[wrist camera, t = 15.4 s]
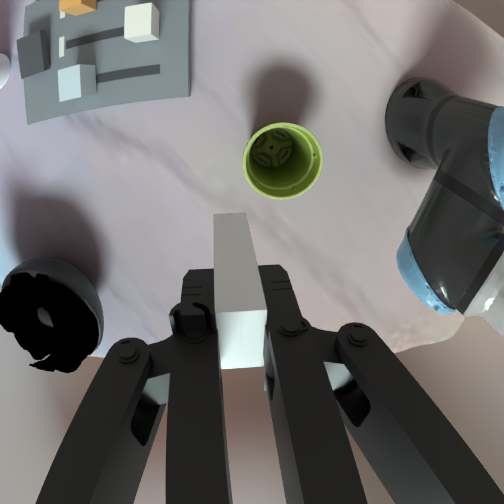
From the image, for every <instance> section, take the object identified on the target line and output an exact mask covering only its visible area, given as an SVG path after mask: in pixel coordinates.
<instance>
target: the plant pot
mask: <svg viewBox="0 0 504 504" xmlns="http://www.w3.org/2000/svg"><path fill="white" fill-rule="evenodd" d="M275 131H280V132H281V133H283V135H284V136H281V135H280V134H278V133H276V132H275ZM258 136H260V137H259V138H258V140H257V142H256V144H254V141H255V139H256V138H257V137H258ZM270 146H273V149H270ZM286 151H288V153H287V155H286V157H285V158H284V159H282V157H283V155H284V154H285V152H286ZM259 158H261V159H262V160H264V161H266V162H267V163H263V162H261V161H259ZM322 164H323V156H322V150H321V147H320V144H319V142H318V140H317V139H316V138H315V136H314V135H313V134H312V133H311V132H310V131H308V130H307V129H305V128H304V127H302V126H299V125H297V124H293V123H287V122H280V123H274V124H270V125H267V126H265V127H263V128H262V129H260V130H258V131H257V132H256V133H255V134H254V135H253V136H252V137H251V139H250V140H249V142H248V143H247V145H246V148H245V151H244V154H243V170H244V174H245V177H246V179H247V181H248V182H249V184H250V185H251V186H252V187H253V188H254V189H255V190H256V191H257V192H258V193H260V194H262V195H264V196H266V197H269V198H272V199H290V198H294V197H297V196H299V195H301V194H303V193H304V192H306V191H307V190H308V189H310V188H311V187H312V186H313V184H314V183H315V181H316V180H317V179H318V177H319V175H320V172H321V169H322Z"/></svg>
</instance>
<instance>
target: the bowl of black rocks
mask: <svg viewBox="0 0 504 504" xmlns="http://www.w3.org/2000/svg"><path fill="white" fill-rule="evenodd" d="M0 324H1V325H2V326H3V328H4V329H5V330H6V331H7V332H13V333H14V334H15V335H14V336H15V338H16V340H17V342H18V343H19V345H20V346H21V347H22V348H23V349H24V350H28V352H30V354H31V356H32V357H33V359H35V360H42V359H43V358H44V357H45V356H47V355H48V354H51V355H50V356H48V358H46V359H45V360H42V361H38V362H36V363H34V364H30V366H32V367H36V368H38V369H40V370H45V371H52V372H54V370H59V371H61V372H64V373H70V372H74V371H75V370H77V368H78V367H79V366H80V364H81V362H82V361H83V360H84V359H85V358H86V357H87V356H88V355H91V354H92V353H93V351H95V350H96V349H97V348H98V346H99V345H100V343H101V340H102V336H103V329H104V318H103V310H102V306H101V302H100V299H99V297H98V294H97V292H96V290H95V288H94V287H93V285H92V284H91V282H90V281H89V280H88V278H87V277H86V276H85V275H84V274H83V273H82V272H81V271H79V270H78V269H77V268H76V267H74V266H73V265H71V264H69V263H67V262H65V261H62V260H59V259H55V258H47V257H44V258H35V259H31V260H28V261H26V262H24V263H22V264H20V265H18V266H17V267H15V268H14V269H13V270H12V271H11V272H10V273H9V274H8V275H7V276H6V278H5V280H4V282H3V285H2V291H1V293H0Z"/></svg>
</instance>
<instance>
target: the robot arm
mask: <svg viewBox="0 0 504 504" xmlns="http://www.w3.org/2000/svg"><path fill="white" fill-rule="evenodd" d="M385 125H386V133H387V137H388V140H389V142H390V144H391V146H392V148H393V150H394V151H395V153H396V154H397V155H398V156H399V157H400V158H401V159H403V160H404V161H406V162H408V163H409V164H411V165H413V166H415V167H418V168H421V169H435V170H437V172H436V174H435V176H434V178H433V180H432V182H431V184H430V187H429V189H428V191H427V193H426V195H425V197H424V199H423V201H422V203H421V205H420V207H419V209H418V211H417V213H416V215H415V217H414V219H413V221H412V222H411V224H410V225H409V226H408V228H407V229H406V232H405V236H404V239H403V241H402V243H401V245H400V247H399V249H398V251H397V257H396V259H397V264H398V269H399V271H400V274H401V275H402V277H403V279H404V281H405V282H406V284H407V285H408V286H409V288H410V289H411V290H412V291H413V292H414V294H415V295H416V296H417V297H418V298H419V299H420V300H421V301H423V302H424V303H425V304H426V305H427V306H429V307H433V308H434V309H435V310H436V311H437V312H439V313H441V314H451V313H452V312H455V311H456V310H458V311H459V312H460V313H461V314H462V315H464V316H465V317H467V316H475V315H480V316H482V317H483V318H484V319H486V320H487V321H488V322H489V323H490V324H491V325H492V326H493V327H494V328H495V329H496V330H497V331H498V332H499V333H500V334H501V335H502V336H503V337H504V107H502V106H496V105H493V104H489V103H486V102H482V101H478V100H474V99H470V98H466V97H461V96H458V95H457V94H456V93H454V92H453V91H452V90H450V89H449V88H448V87H446V86H445V85H443V84H442V83H440V82H438V81H435V80H431V79H425V78H414V79H410V80H408V81H406V82H404V83H403V84H401V85H400V86H399V87H398V88H397V89H396V90H395V92H394V93H393V95H392V96H391V98H390V100H389V103H388V106H387V110H386V117H385ZM169 319H170V323H171V328H172V332H173V334H172V335H171V336H170V337H168V338H167V339H165V340H163V341H160V342H157V343H153V344H149V345H147V344H146V343H145V342H144V341H143V340H141V339H138V338H125V339H121V340H119V341H118V342H116V343H114V345H113V346H112V347H111V348H110V349H109V351H108V353H107V355H106V356H105V358H104V360H103V362H102V364H101V366H100V368H99V369H98V371H97V373H96V375H95V377H94V379H93V380H92V382H91V384H90V386H89V388H88V390H87V392H86V394H85V396H84V398H83V400H82V402H81V404H80V406H79V408H78V410H77V412H76V414H75V416H74V418H73V420H72V422H71V424H70V426H69V428H68V430H67V433H66V434H65V436H64V438H63V441H62V443H61V445H60V447H59V449H58V452H57V454H56V456H55V459H54V460H53V463H52V465H51V467H50V470H49V472H48V474H47V477H46V479H45V482H44V484H43V486H42V489H41V492H40V494H39V496H38V499H37V501H36V504H133V503H134V500H135V496H136V493H137V490H138V487H139V484H140V481H141V477H142V475H143V471H144V469H145V465H146V462H147V459H148V456H149V453H150V450H151V447H152V444H153V441H154V439H155V436H156V433H157V430H158V427H159V424H160V421H161V418H162V415H163V412H164V409H165V406H166V403H167V402H168V414H167V437H166V439H167V440H166V504H233V503H232V493H231V483H230V473H229V462H228V451H227V439H226V427H225V415H224V400H223V386H222V375H221V369H229V368H245V367H259V366H264V363H265V369H266V375H265V386H264V391H267V394H268V399H269V405H270V411H271V417H272V422H273V429H274V435H275V440H276V446H277V452H278V457H279V463H280V469H281V475H282V480H283V486H284V492H285V497H286V503H287V504H367V500H366V497H365V493H364V489H363V486H362V483H361V479H360V476H359V473H358V469H357V466H356V462H355V459H354V456H353V452H352V449H351V446H350V442H349V439H348V436H347V433H346V430H345V426H346V427H347V429H348V430H349V432H350V434H351V435H352V437H353V438H354V440H355V442H356V443H357V445H358V446H359V448H360V449H361V451H362V453H363V454H364V456H365V457H366V459H367V460H368V462H369V464H370V465H371V467H372V468H373V470H374V471H375V473H376V474H377V476H378V478H379V479H380V481H381V482H382V484H383V485H384V487H385V488H386V490H387V491H388V493H389V495H390V496H391V498H392V499H393V501H394V502H395V504H504V495H503V493H502V492H501V490H500V489H499V488H498V486H497V485H496V483H495V482H494V480H493V479H492V478H491V476H490V475H489V474H488V472H487V471H486V469H485V468H484V467H483V465H482V464H481V463H480V461H479V460H478V459H477V458H476V456H475V455H474V453H473V452H472V451H471V449H470V448H469V447H468V446H467V444H466V443H465V441H464V440H463V439H462V438H461V436H460V435H459V434H458V432H457V431H456V430H455V428H454V427H453V426H452V425H451V423H450V422H449V421H448V420H447V418H446V417H445V416H444V414H443V413H442V412H441V411H440V409H439V408H438V407H437V406H436V404H435V403H434V402H433V401H432V399H431V398H430V397H429V396H428V394H427V393H426V392H425V391H424V389H423V388H422V387H421V386H420V385H419V384H418V382H417V381H416V380H415V379H414V377H413V376H412V375H411V374H410V372H409V371H408V370H407V369H406V368H405V366H404V365H403V364H402V363H401V362H400V361H399V359H398V358H397V357H396V356H395V354H394V353H393V352H392V351H391V350H390V349H389V347H388V346H387V345H386V344H385V343H384V342H383V340H382V339H381V338H380V337H379V336H378V335H377V333H376V332H375V331H374V330H373V329H371V328H370V327H369V326H367V325H364V324H362V323H355V322H353V323H348V324H345V325H344V326H342V327H341V328H340V329H339V331H338V332H332V331H325V330H320V329H317V328H315V327H312V326H311V325H310V323H309V322H308V321H307V320H306V319H305V318H303V317H302V315H301V312H300V309H299V306H298V303H297V300H296V297H295V294H294V291H293V289H292V285H291V282H290V279H289V276H288V273H287V271H286V270H285V269H283V268H282V267H281V266H280V265H260V266H258V265H257V261H256V256H255V252H254V247H253V242H252V238H251V233H250V229H249V224H248V220H247V215H246V213H228V214H214V269H195V270H189V271H188V272H187V274H186V275H185V276H184V278H183V285H182V293H181V303H179V304H177V305H176V306H175V307H173V308H172V309H171V311H170V314H169ZM344 424H345V426H344Z"/></svg>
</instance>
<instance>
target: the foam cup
mask: <svg viewBox="0 0 504 504" xmlns="http://www.w3.org/2000/svg"><path fill="white" fill-rule="evenodd" d="M10 68H11V65H10V60H9V58H8V57H7V56H6V55H5V54H1V53H0V88H2V87H3V85H4V84H5V83H6V82H7V79H8V77H9V75H10Z"/></svg>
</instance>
